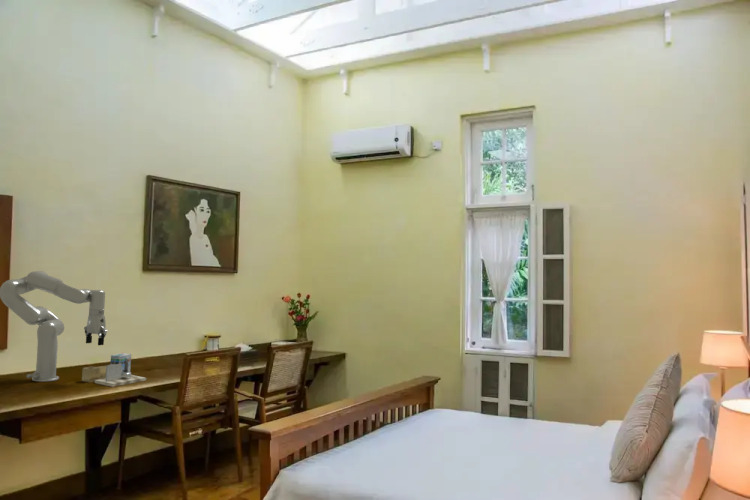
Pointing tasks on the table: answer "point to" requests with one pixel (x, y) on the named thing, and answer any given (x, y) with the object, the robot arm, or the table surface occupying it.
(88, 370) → the tan piece
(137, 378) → the white mounting board
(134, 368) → the table surface
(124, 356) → the light bulb box
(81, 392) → the table surface
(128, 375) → the steel hinge leaf
